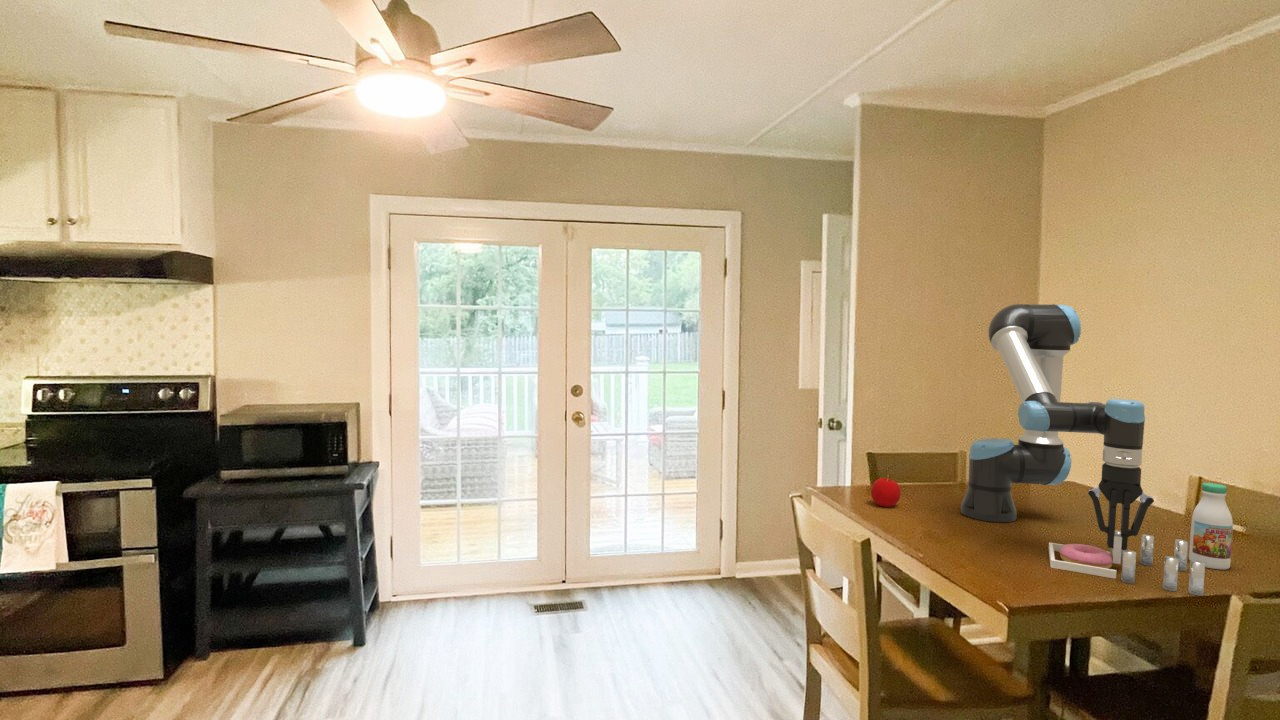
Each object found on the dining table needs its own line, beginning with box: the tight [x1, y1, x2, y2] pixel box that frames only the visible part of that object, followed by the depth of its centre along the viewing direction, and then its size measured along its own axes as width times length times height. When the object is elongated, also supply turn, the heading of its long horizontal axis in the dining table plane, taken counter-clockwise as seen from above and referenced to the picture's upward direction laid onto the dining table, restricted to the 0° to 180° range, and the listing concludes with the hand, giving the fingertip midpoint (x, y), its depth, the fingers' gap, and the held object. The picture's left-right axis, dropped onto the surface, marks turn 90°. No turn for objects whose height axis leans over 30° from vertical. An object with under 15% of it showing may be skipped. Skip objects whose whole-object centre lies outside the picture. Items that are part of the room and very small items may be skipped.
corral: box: [1048, 542, 1117, 579], centre depth 161 cm, size 13×16×2 cm
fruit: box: [870, 474, 902, 508], centre depth 210 cm, size 9×9×10 cm
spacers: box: [1109, 529, 1206, 597], centre depth 154 cm, size 15×19×7 cm
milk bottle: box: [1188, 482, 1234, 571], centre depth 161 cm, size 8×8×20 cm
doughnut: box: [1058, 543, 1114, 569], centre depth 160 cm, size 11×11×4 cm
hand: (1115, 561), depth 157 cm, fingers closed
